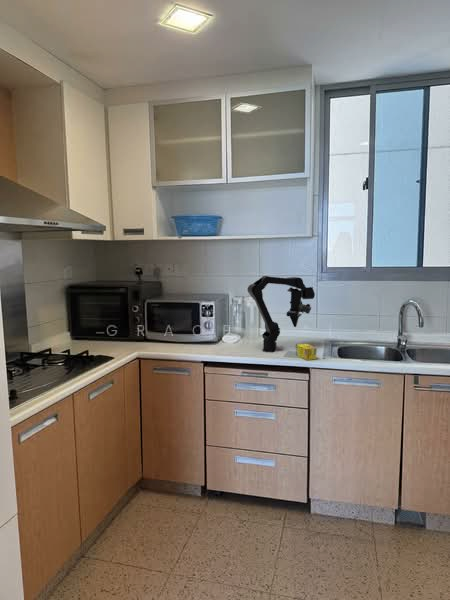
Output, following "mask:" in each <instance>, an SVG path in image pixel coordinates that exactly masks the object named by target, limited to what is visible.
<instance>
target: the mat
mask: <svg viewBox="0 0 450 600" xmlns="http://www.w3.org/2000/svg"><path fill="white" fill-rule="evenodd" d="M283 356H284V358H285V357H286V358H297V359H303V358H302V357H300V356H298V355H296V351H295V350H294V351H293V350H288V351H286V352H285V354H284V355H283Z"/></svg>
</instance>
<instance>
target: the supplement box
mask: <svg viewBox="0 0 450 600" xmlns="http://www.w3.org/2000/svg"><path fill="white" fill-rule="evenodd" d="M317 351H318V350H317V347H315V346H312V345H310V344H308V343H297V344H296V355H298V356H300V357H302V358H301V359H303V360H306V361H309V360H311V361H312V360H317Z"/></svg>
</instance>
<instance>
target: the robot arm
mask: <svg viewBox="0 0 450 600" xmlns="http://www.w3.org/2000/svg"><path fill="white" fill-rule="evenodd" d="M269 284H273V285H274V284H275V285H285V286H287V287H289V288H288V289H287V292H289V293H290V301H289V304H290V308H289V310H288V311H287V312H286V317H289V318H290V320H291V321H290V322H291V323H292V325H293V327H294V328H296V327H297V325H298V322H299V318H300V317H301V316H302V314H304V313H305V314H308V315H309V314H310V312H311V310H312V306H311V304H310V303H307V304H303V301H302V299H303V300H313V299H314V298H315V296H316V294H315V290H314V287H312V286H309V287H307V286H306V285H305V283H304V280H303V278H301V277H299V276H298V277H297V276H292V277H278V276H277V277H276V276H268V275H263V276H262V277H260V278H259V279H258V280H256V281H254V282H253V283H251V284H249V285H248V287H247V292H248V294H249V295H250V297H251V298H252V299H253V300H254V302H255V304H256V306H257V309H258V311H259V313H260V315H261V317H262V320H263V322H264V329H265V331H264V332H263V333H262V334H261V337H262V339H263V344H262V345H263V349H262V352H269V353H275V352H276V351H277V347H278V345H277V343H278V342H277V341H278V337H279V336H280V334H281V328H280V327H279V323H278V322H276V321H273V319H272V317H271V314H270V312H269V310H268V308H267V306H266V303H265V301H264V296H263V295H264V294H263V290H264V289H266V287H267V286H268V285H269ZM301 313H302V314H301Z"/></svg>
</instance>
